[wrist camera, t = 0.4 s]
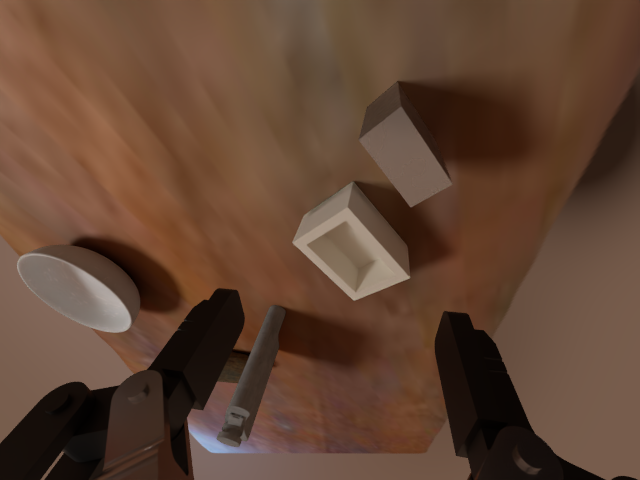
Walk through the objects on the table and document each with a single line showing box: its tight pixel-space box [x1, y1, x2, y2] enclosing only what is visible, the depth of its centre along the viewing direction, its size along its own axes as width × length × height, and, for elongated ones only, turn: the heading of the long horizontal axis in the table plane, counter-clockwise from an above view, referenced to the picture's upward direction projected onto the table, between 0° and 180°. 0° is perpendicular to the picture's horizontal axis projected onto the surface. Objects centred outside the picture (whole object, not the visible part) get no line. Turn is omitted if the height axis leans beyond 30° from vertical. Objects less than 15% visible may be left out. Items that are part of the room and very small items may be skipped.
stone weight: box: [217, 352, 249, 383], centre depth 64 cm, size 15×7×7 cm, turn 98°
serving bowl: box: [17, 245, 140, 332], centre depth 53 cm, size 21×21×7 cm
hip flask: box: [217, 305, 286, 447], centre depth 49 cm, size 16×4×20 cm, turn 169°
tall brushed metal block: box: [359, 81, 453, 207], centre depth 24 cm, size 4×7×10 cm, turn 42°
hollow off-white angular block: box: [292, 181, 410, 301], centre depth 35 cm, size 8×12×6 cm
